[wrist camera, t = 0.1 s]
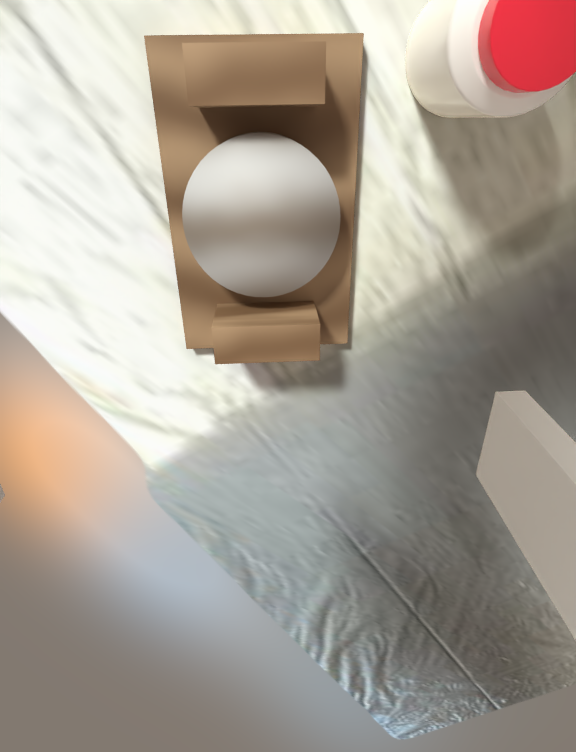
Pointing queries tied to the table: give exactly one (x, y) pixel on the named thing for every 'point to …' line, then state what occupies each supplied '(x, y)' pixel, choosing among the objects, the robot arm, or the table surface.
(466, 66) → the pill bottle
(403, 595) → the table surface
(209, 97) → the cardboard packaging tray
